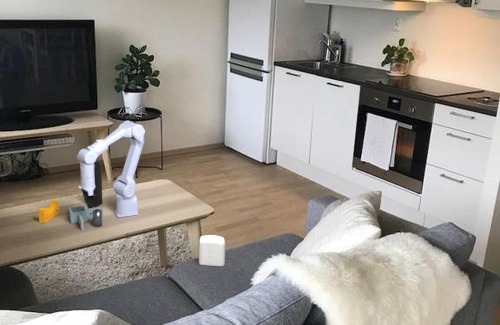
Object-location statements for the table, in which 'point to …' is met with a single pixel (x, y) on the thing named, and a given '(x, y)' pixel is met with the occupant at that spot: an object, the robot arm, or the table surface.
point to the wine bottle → (97, 184)
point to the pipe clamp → (48, 212)
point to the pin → (97, 218)
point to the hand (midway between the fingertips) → (89, 204)
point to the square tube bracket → (81, 214)
